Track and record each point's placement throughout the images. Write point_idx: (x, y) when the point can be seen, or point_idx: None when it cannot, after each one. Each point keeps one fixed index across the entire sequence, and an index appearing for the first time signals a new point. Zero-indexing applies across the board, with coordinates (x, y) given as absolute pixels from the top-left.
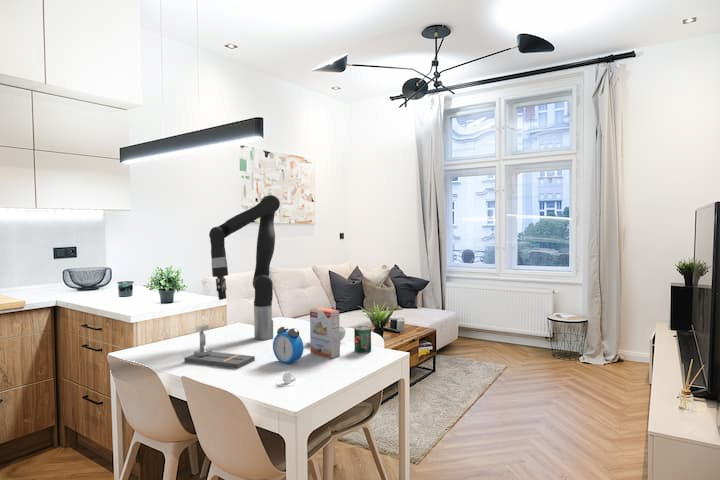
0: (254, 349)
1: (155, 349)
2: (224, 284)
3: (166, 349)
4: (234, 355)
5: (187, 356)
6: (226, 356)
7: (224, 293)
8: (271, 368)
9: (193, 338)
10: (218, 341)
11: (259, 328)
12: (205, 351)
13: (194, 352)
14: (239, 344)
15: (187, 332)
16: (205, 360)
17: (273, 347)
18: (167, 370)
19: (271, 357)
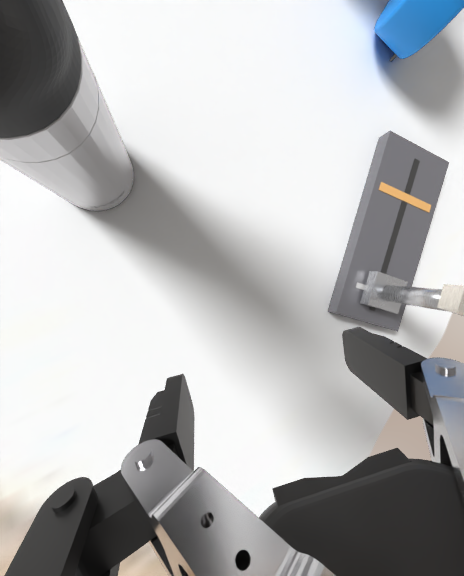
0: (267, 168)
1: (276, 483)
2: (271, 544)
3: (275, 451)
4: (382, 196)
5: (388, 328)
6: (390, 216)
7: (182, 422)
8: (434, 77)
9: None
10: (167, 339)
11: (123, 159)
12: (396, 280)
13: (396, 311)
14: (205, 243)
15: (19, 545)
16: (417, 262)
17: (428, 41)
18: (438, 333)
19: (349, 91)
